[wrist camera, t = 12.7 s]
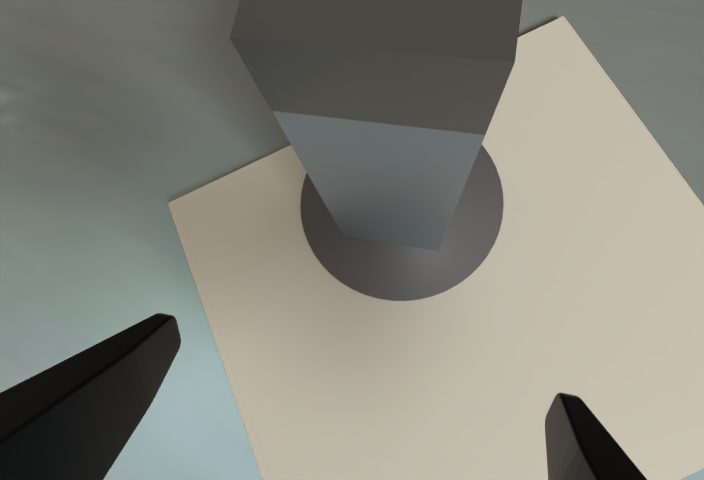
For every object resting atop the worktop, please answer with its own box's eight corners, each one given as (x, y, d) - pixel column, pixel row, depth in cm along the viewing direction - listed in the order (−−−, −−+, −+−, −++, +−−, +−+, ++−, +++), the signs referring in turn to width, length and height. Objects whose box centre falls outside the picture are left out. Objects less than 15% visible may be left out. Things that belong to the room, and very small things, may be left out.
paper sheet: (322, 639, 15) (320, 647, 14) (171, 205, 19) (166, 202, 19) (839, 400, 15) (850, 401, 14) (561, 20, 19) (564, 14, 19)
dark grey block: (343, 235, 18) (229, 38, 6) (360, 149, 18) (289, -170, 7) (438, 251, 17) (514, 62, 5) (451, 161, 18) (542, -170, 6)
